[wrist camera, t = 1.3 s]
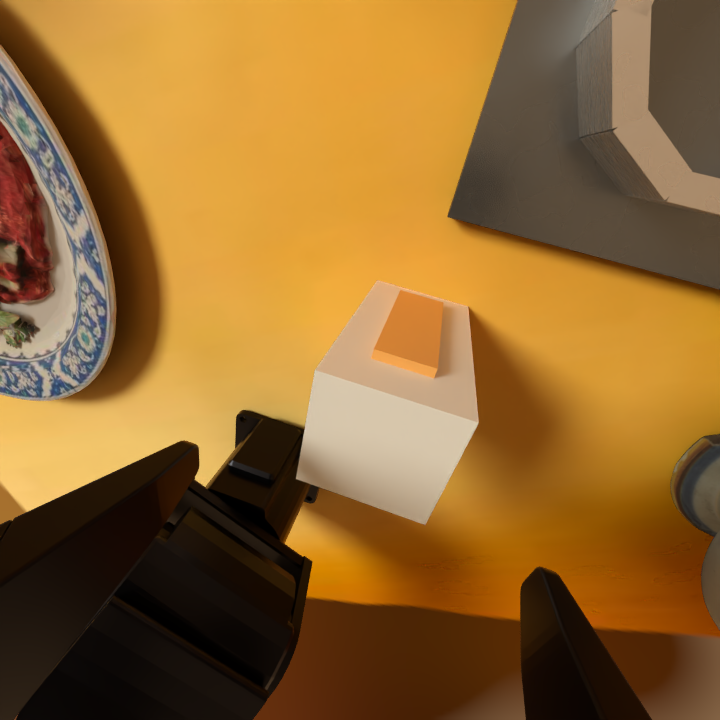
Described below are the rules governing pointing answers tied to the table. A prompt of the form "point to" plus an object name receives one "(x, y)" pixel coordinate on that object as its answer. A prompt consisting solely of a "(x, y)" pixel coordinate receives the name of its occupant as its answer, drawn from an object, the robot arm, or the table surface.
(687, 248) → the duct collar
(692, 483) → the apothecary jar
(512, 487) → the table surface
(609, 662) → the robot arm
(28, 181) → the ceramic plate
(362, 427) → the white block
